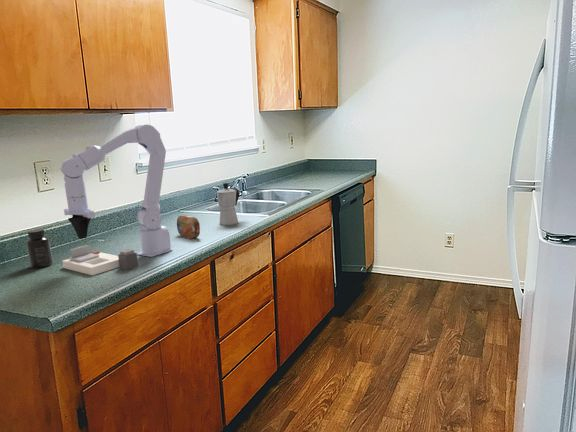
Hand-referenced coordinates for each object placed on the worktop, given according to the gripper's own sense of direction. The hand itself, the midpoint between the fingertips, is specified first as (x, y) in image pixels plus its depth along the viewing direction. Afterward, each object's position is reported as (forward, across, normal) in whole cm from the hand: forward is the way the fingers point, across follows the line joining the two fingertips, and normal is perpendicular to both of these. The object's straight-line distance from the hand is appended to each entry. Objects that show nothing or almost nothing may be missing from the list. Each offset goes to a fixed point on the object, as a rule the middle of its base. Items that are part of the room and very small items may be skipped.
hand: (82, 238), depth 150 cm
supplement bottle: (+10, -16, -7) cm, 20 cm away
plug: (+9, +15, +6) cm, 19 cm away
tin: (+10, +2, +43) cm, 44 cm away
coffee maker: (+10, 0, +69) cm, 70 cm away
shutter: (+7, -1, 0) cm, 7 cm away
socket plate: (+9, +3, +1) cm, 10 cm away
